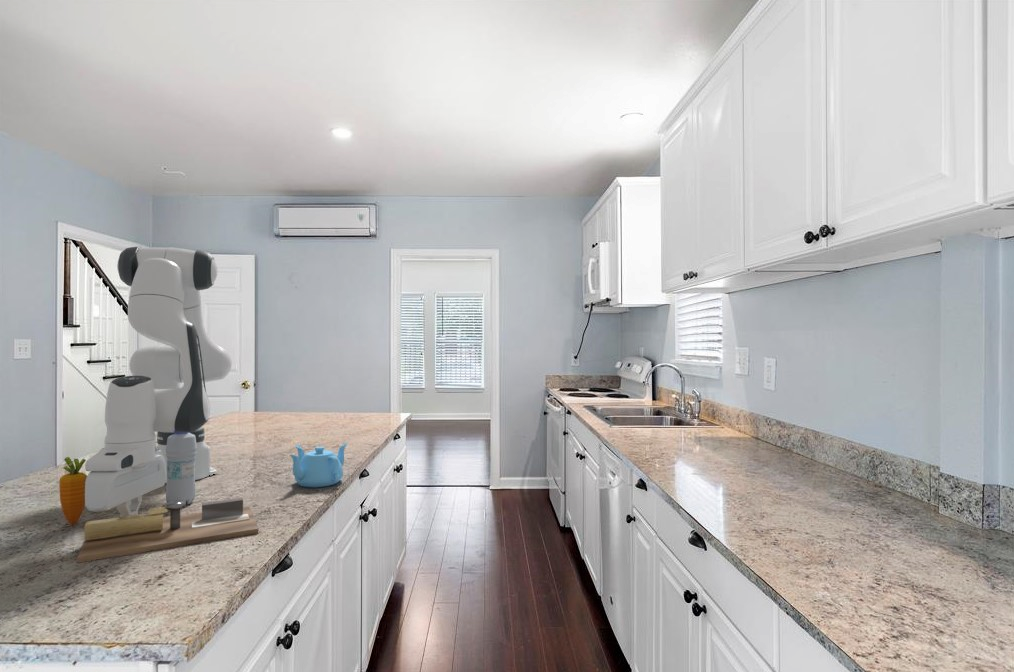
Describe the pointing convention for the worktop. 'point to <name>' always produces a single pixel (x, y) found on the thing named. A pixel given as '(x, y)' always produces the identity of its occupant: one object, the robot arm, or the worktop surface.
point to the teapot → (318, 467)
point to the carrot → (73, 491)
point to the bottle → (181, 467)
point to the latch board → (178, 531)
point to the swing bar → (130, 523)
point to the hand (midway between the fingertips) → (129, 519)
